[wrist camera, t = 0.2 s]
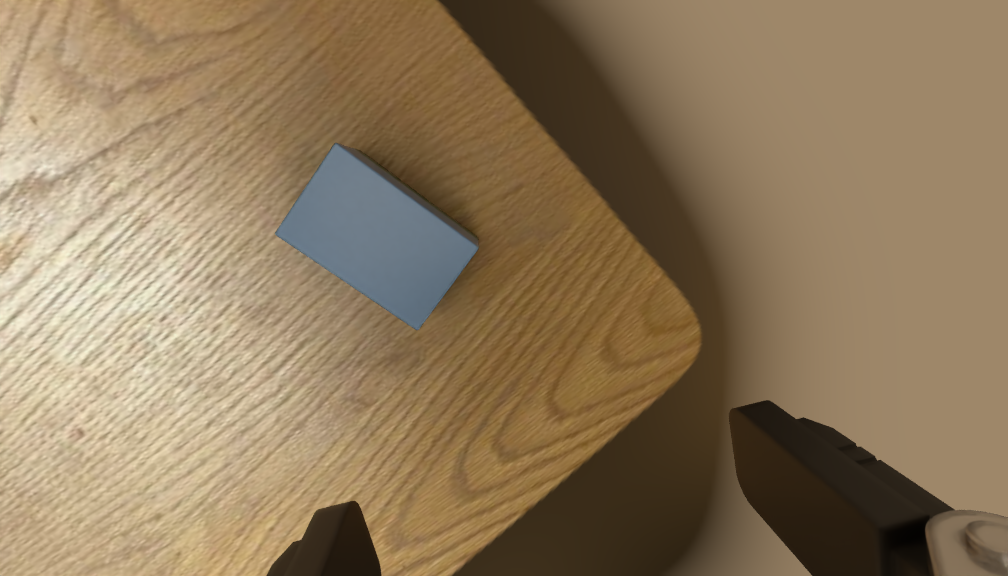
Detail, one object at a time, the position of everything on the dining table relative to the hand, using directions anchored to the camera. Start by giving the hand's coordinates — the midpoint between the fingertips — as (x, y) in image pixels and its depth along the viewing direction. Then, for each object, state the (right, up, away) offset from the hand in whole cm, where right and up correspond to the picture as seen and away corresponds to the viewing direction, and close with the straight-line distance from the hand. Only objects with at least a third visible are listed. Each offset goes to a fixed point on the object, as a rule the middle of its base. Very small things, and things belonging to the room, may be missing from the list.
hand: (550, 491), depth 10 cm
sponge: (-6, +7, +13) cm, 16 cm away
